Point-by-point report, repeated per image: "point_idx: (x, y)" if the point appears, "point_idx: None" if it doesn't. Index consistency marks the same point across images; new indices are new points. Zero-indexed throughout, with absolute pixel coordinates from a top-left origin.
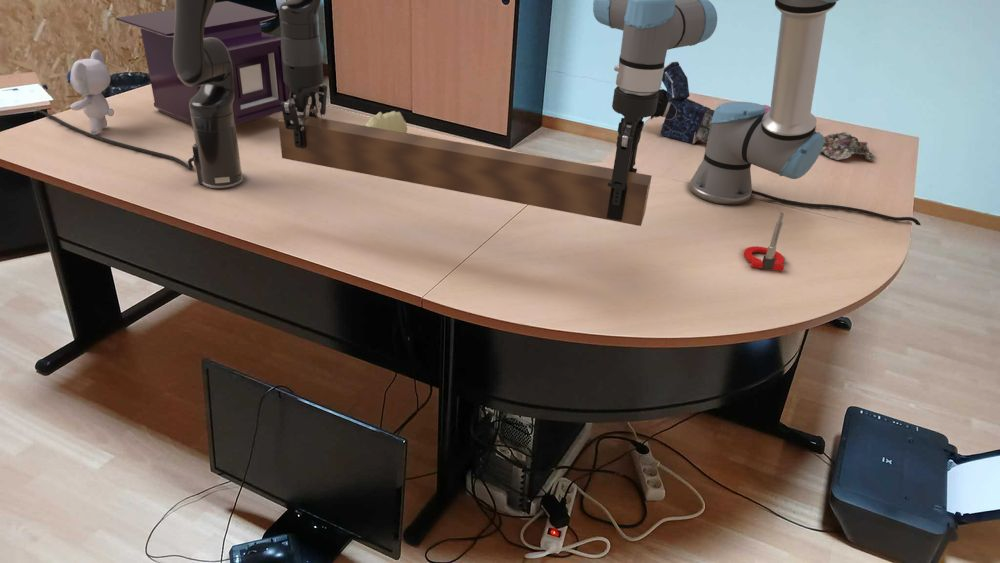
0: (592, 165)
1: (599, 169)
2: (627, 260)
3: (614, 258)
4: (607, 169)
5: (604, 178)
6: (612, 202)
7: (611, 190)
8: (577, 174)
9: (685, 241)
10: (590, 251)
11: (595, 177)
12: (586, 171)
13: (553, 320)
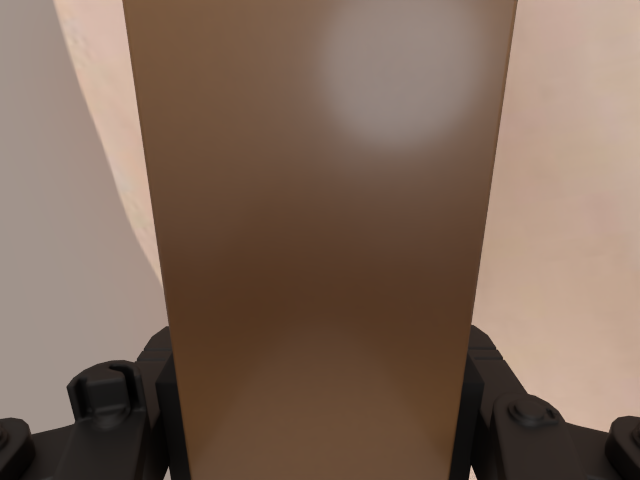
0: (486, 143)
1: (388, 248)
2: (494, 218)
3: (495, 182)
4: (421, 326)
5: (171, 336)
6: (152, 338)
7: (172, 357)
8: (129, 1)
9: (636, 339)
10: (519, 107)
11: (159, 243)
12: (255, 108)
13: (111, 89)
